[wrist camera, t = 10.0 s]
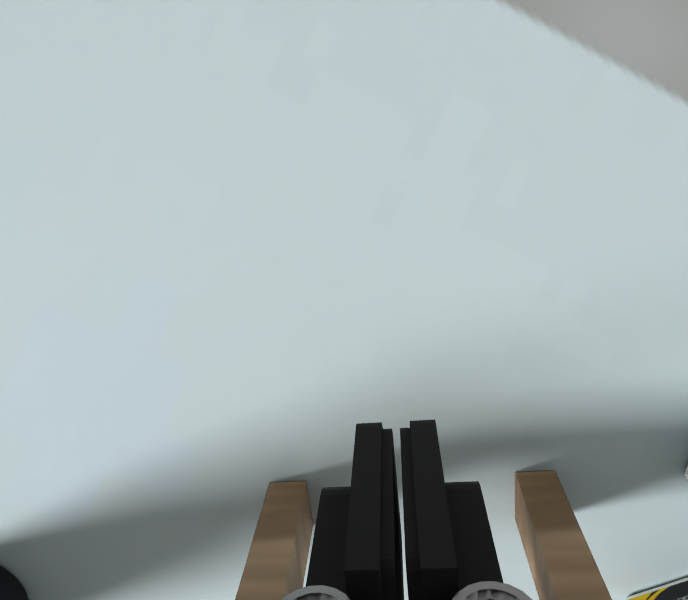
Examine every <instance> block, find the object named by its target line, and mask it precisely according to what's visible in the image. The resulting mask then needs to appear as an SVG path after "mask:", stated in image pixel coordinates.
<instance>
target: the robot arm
mask: <svg viewBox="0 0 688 600" xmlns="http://www.w3.org/2000/svg"><path fill="white" fill-rule="evenodd" d="M400 438H401V461H402V485H403V508H404V532H405V555H406V572H407V585H408V597H409V600H532V599H531V598H530V597H529V596H527V595H526V594H525V593H524V592H523V591H521V590H519V589H517V588H515V587H513V586H511V585H509V584H504V583H503V580H502V575H501V571H500V567H499V563H498V559H497V554H496V550H495V546H494V542H493V538H492V533H491V529H490V525H489V521H488V517H487V512H486V508H485V504H484V500H483V496H482V491H481V487H480V484H479V482H478V481H476V482H451V483H445V482H444V476H443V469H442V462H441V456H440V449H439V442H438V435H437V429H436V422H435V420H419V421H410V428H400ZM282 600H404V588H403V560H402V538H401V524H400V513H399V501H398V490H397V478H396V467H395V455H394V443H393V432H392V429H383V427H382V422H381V423H361V424H356V433H355V445H354V456H353V468H352V479H351V487H329V488H323V489H322V491H321V495H320V501H319V507H318V514H317V520H316V526H315V532H314V539H313V545H312V551H311V557H310V564H309V570H308V576H307V582H306V587H304V588H300V589H297V590H295V591H294V592H292V593H290V594H288V595H287V596H285V597H284V598H283V599H282Z"/></svg>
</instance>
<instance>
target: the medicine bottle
mask: <svg viewBox="0 0 688 600" xmlns="http://www.w3.org/2000/svg"><path fill="white" fill-rule="evenodd" d="M626 600H688V577H687V578H684V579H681V580H678V581H675V582H672V583H669V584H666V585H663V586H660V587H656V588H653V589H650V590H647V591H644V592H641V593H638V594H635V595H632V596H629V597H627V599H626Z"/></svg>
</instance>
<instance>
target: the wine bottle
mask: <svg viewBox="0 0 688 600" xmlns="http://www.w3.org/2000/svg"><path fill="white" fill-rule="evenodd" d="M0 600H28V598H27V595H26V592H25V590H24V588H23V587H22V586H21V584H20V583H19V582H18V580H17V579H16V578H15V577H14V576H13V575H12V574H10V573H9V572H8V571H7V570H5V569H4V568H3V567H1V566H0Z"/></svg>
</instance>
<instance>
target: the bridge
mask: <svg viewBox="0 0 688 600" xmlns="http://www.w3.org/2000/svg"><path fill="white" fill-rule="evenodd" d="M515 520H516V523H517V526H518V530H519V533H520V536H521V540H522V543H523V546H524V550H525V553H526V556H527V560H528V563H529V566H530V570H531V573H532V576H533V580H534V583H535V586H536V590H537V593H538V596H539V600H612V599H611V596H610V594H609V592H608V590H607V587H606V585H605V583H604V581H603V578H602V576H601V574H600V572H599V569H598V567H597V565H596V563H595V560H594V558H593V556H592V554H591V551H590V549H589V547H588V544H587V542H586V540H585V538H584V535H583V533H582V531H581V529H580V526H579V524H578V522H577V520H576V517H575V515H574V513H573V511H572V508H571V506H570V504H569V502H568V499H567V497H566V495H565V492H564V490H563V488H562V486H561V483H560V481H559V479H558V477H557V474H556V472H555V471H534V472H515ZM312 528H313V524H312V517H311V510H310V504H309V497H308V491H307V484H306V481H297V482H273V483H269V486H268V490H267V493H266V497H265V500H264V503H263V507H262V510H261V514H260V517H259V520H258V524H257V527H256V531H255V534H254V537H253V541H252V544H251V548H250V551H249V554H248V558H247V561H246V565H245V568H244V571H243V575H242V578H241V582H240V585H239V588H238V592H237V595H236V599H235V600H282V599H283V598H284V597H285V596H287V595H288V594H290V593H292V592H294V591H295V590H297V589H300V588H303V582H304V576H305V570H306V564H307V558H308V552H309V546H310V540H311V534H312Z"/></svg>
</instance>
